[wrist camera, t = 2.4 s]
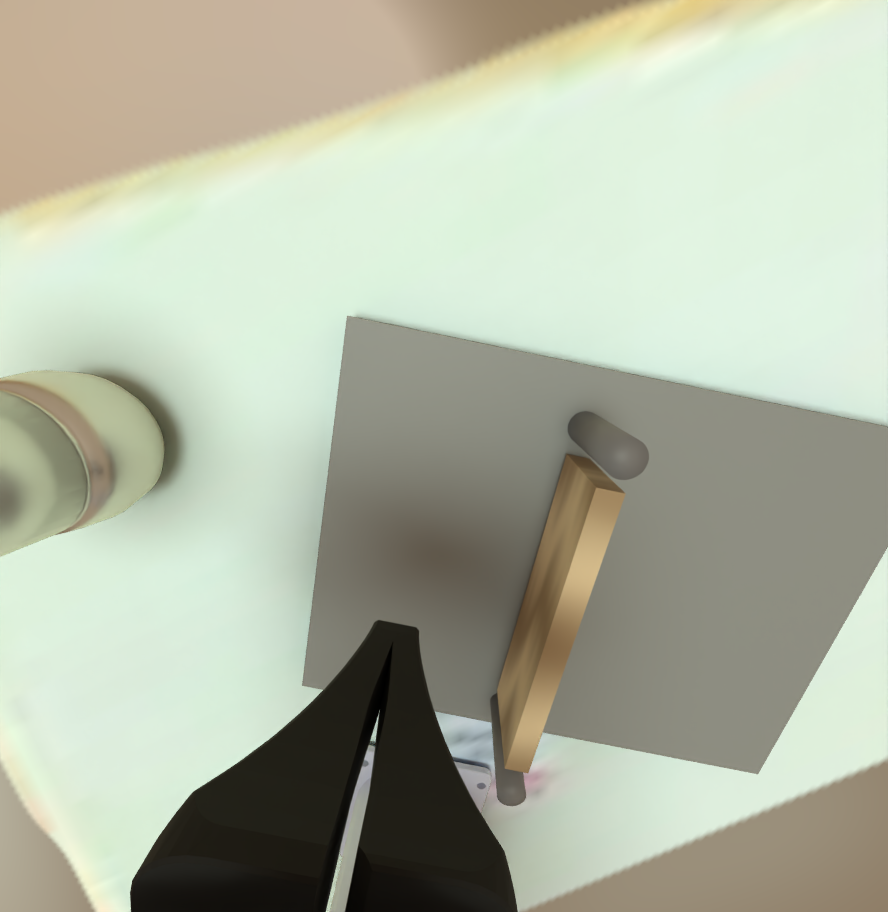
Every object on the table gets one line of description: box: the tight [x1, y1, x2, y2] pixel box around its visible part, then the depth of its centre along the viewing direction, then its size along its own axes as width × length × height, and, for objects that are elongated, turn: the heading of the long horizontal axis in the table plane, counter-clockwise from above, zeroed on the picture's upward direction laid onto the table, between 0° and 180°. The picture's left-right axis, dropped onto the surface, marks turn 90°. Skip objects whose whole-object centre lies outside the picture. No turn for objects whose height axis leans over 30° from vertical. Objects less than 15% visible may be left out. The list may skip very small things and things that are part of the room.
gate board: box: [302, 316, 888, 806], centre depth 18 cm, size 19×25×6 cm
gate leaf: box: [497, 454, 626, 773], centre depth 17 cm, size 13×1×4 cm, turn 169°
